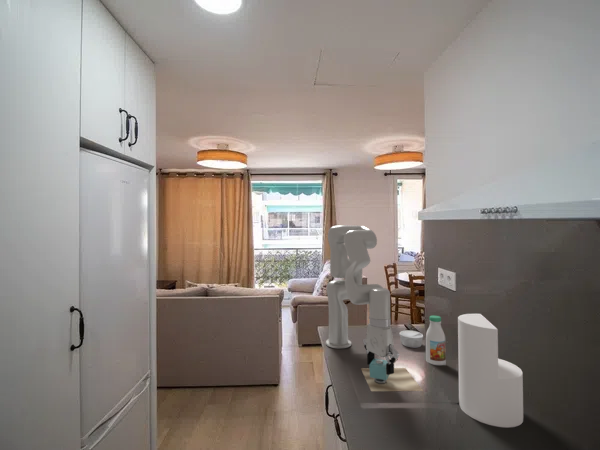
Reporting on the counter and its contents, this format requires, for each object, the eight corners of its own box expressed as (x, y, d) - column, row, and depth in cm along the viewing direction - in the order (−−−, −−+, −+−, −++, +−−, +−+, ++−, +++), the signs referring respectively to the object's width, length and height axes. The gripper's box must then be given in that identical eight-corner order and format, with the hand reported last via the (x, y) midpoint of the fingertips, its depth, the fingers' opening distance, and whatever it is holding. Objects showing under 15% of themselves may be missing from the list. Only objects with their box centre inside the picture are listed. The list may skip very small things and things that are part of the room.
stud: (372, 378, 118) (372, 363, 118) (384, 378, 118) (384, 363, 118) (375, 384, 114) (375, 368, 114) (388, 384, 114) (387, 368, 114)
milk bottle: (423, 364, 133) (422, 316, 133) (430, 358, 139) (429, 313, 139) (442, 369, 128) (441, 320, 128) (448, 363, 134) (447, 316, 134)
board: (360, 371, 127) (360, 368, 127) (405, 370, 127) (405, 367, 127) (371, 394, 109) (371, 391, 109) (423, 394, 109) (423, 390, 109)
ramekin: (424, 350, 149) (424, 338, 149) (399, 347, 153) (399, 336, 153) (422, 341, 160) (422, 331, 160) (399, 339, 163) (399, 329, 163)
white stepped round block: (466, 422, 93) (464, 327, 94) (454, 392, 110) (453, 312, 110) (533, 431, 89) (532, 331, 89) (510, 399, 105) (509, 315, 106)
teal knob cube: (370, 377, 115) (369, 363, 115) (374, 370, 120) (373, 357, 120) (386, 380, 112) (385, 366, 112) (390, 372, 117) (389, 359, 117)
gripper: (356, 317, 122) (356, 362, 122) (390, 330, 107) (390, 380, 107) (370, 315, 126) (371, 358, 125) (405, 326, 111) (406, 375, 111)
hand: (380, 368), depth 116 cm, fingers open, 9 cm apart
